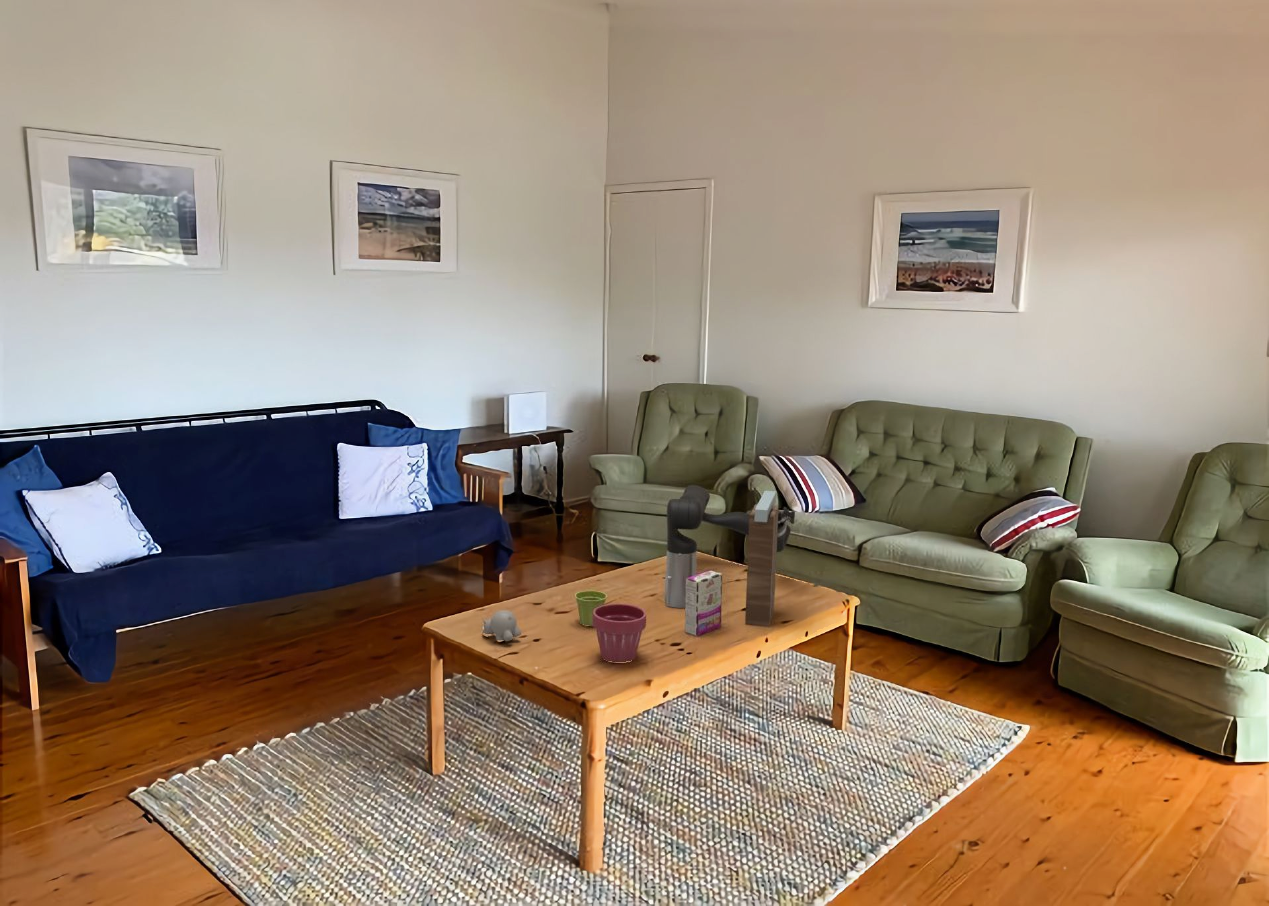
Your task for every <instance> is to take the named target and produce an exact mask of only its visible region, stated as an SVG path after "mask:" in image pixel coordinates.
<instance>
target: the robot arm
mask: <svg viewBox="0 0 1269 906" xmlns="http://www.w3.org/2000/svg"><path fill="white" fill-rule="evenodd" d="M710 499H711V496H710V493H709V491H708V490H707V489H706V488H704V487H702V486H700V485H697V484H690V485H688V486H686V488H684V491H683V493H682V495H681V496H680V498H671V499H670V500H669V501H668V503H667V507H666V524H667V525H666V526H667V528H666V529H667V531H666V534H667V536H666V537H667V538H666V540H667V541H666V569H665V570H666V571H665V573H664V602H665V605H666V607H670V608H676V609H678V608H679V609H685V603H686V602H685V594H686V578H689V577H692V576H695V575H697V554H698V553H697V552H698V551H697V549H698V545H697V541H695V540H694V539H693V538H690V537H688V536H686V535H685V534H683V533H681V532H680V530H686V531H687V530H689V531H690V530H692V531H694V530H697V529H699V528H700V526H701V525H702V522H704V523H708V524H711V525H714V526H718V527H722V528H725V529H730V530H733V531H736V532H738V533H740V534H743V535H746V536H748V537H749V518H750V513H751V511H752V510H753V508H754V507H750V511H749V513H746V512H742V511H734V512H727V513H721V514H720V513H719V514H712V513H709V512H705V511H706V509H707V505H708V504H709V501H710ZM795 517H796V512H795V511H794V510H792V511H791V512H790V510H789V508H787V506H783V509H782V510H780V509H778V531H777V553H780V552H782V551H784V549H785V548H786V546H787V543H788V540H789V538H790V535H791V531H792V528H791V527H790V526H789V525H788V524H787V522H788V523H790V524H795V519H796V518H795Z"/></svg>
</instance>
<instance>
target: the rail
mask: <svg viewBox="0 0 1269 906" xmlns="http://www.w3.org/2000/svg"><path fill="white" fill-rule="evenodd" d="M776 503H777V491H774V490H764V492H763V494H762V496H761V498H760V499H759V501H758V503H757V504H758V505H757V506H756V508H755V519H754V521H757V522H767V520H768V518H769V516H770V514H771V512H772V510H773V508H774V505H775V506H776Z"/></svg>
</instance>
